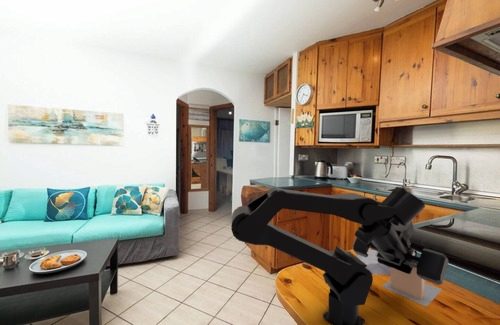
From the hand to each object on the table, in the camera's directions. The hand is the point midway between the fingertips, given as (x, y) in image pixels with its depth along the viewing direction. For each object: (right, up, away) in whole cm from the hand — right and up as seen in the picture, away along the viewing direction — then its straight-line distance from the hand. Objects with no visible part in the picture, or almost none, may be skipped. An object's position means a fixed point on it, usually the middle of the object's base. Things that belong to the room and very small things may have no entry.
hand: (405, 270), depth 57 cm
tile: (+1, -6, +1) cm, 7 cm away
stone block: (0, -7, +15) cm, 17 cm away
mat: (+4, -7, +3) cm, 8 cm away
